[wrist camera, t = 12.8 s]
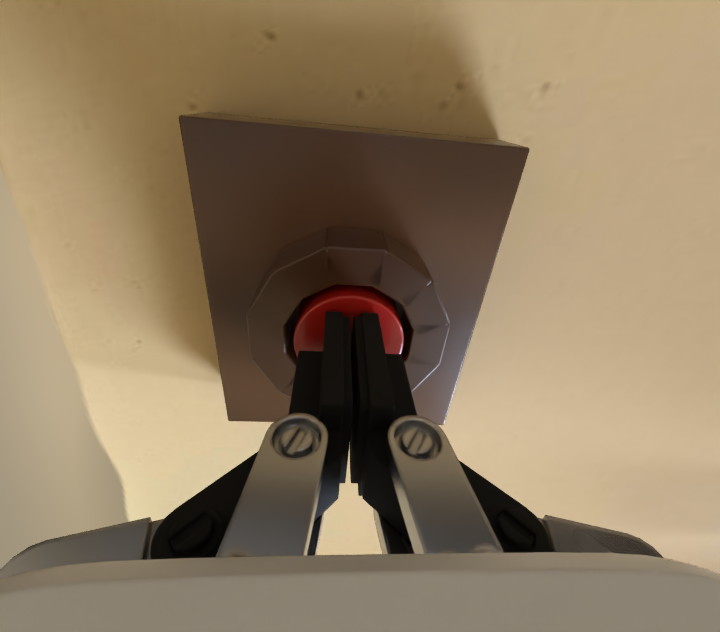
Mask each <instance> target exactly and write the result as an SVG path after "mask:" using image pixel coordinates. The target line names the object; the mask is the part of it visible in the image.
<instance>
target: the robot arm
mask: <svg viewBox="0 0 720 632" xmlns="http://www.w3.org/2000/svg"><path fill="white" fill-rule="evenodd" d="M349 441H350V473H351V483H358V493H359V496H363V499H364V500H365V501H366V502H367V503H368V504H369V505H370V506H372V507H373V508H374V509H373V512H374V520H375V524H376V529H377V533H378V537H379V542H380V546H381V550H382V554H373V555H317V551H318V545H319V540H320V535H321V529H322V524H323V518H324V512H325V511H326V510H327V509H328V508H329V507H330V506H331V505H332V504H333V503H334V502H335V501H336V500H337V499H338V494H339V483H345V479H346V470H347V460H348V451H349ZM0 632H720V574H718V573H716V572H713V571H710V570H708V569H705V568H702V567H698V566H695V565H692V564H688V563H684V562H680V561H676V560H672V559H666V558H663V557H662V556H661V555H660V554H659V553H658V552H657V551H656V550H655V549H654V548H653V547H652V546H651V545H649V544H648V543H646V542H645V541H643V540H642V539H640V538H638V537H635V536H632V535H630V534H627V533H622V532H618V531H614V530H609V529H605V528H601V527H596V526H592V525H587V524H583V523H579V522H574V521H570V520H566V519H561V518H557V517H552V516H548V515H545V516H544V518H543V519H541V518H537V517H536V516H535V515H534V514H533V513H532V512H531V511H529V510H528V509H527V508H526V507H524V506H523V505H522V504H520V503H519V502H517V501H516V500H515V499H513V498H512V497H510V496H509V495H507V494H506V493H505V492H503V491H502V490H500V489H499V488H497V487H496V486H495V485H493V484H492V483H490V482H489V481H487V480H486V479H485V478H483V477H482V476H480V475H479V474H477V473H476V472H475V471H473V470H472V469H470V468H469V467H468V466H466V465H465V464H463V463H462V462H460V461H459V460H458V459H457V457H456V455H455V453H454V451H453V449H452V447H451V445H450V443H449V440H448V438H447V436H446V435H445V433H444V432H443V430H442V429H441V428H440V427H439V426H438V425H437V424H436V423H435V422H433V421H431V420H429V419H427V418H425V417H421V416H417V412H416V408H415V404H414V400H413V396H412V392H411V388H410V384H409V380H408V376H407V372H406V368H405V364H404V360H403V357H402V355H401V354H386V353H385V347H384V342H383V337H382V331H381V326H380V320H379V315H378V313H361V314H360V317H354V322H353V333H352V344H351V347H350V326H349V317H348V316H343V312H337V311H326V312H325V328H324V344H323V351H299V352H298V358H297V364H296V371H295V377H294V383H293V389H292V396H291V402H290V408H289V414H288V415H285V416H283V417H281V418H279V419H277V420H276V421H275V422H274V423H273V424H271V426H270V427H269V429H268V430H267V432H266V434H265V437H264V439H263V442H262V444H261V447H260V449H259V451H258V452H257V453H255V454H254V455H252V456H251V457H250V458H248V459H247V460H245V461H244V462H242V463H241V464H240V465H238V466H237V467H235V468H234V469H232V470H231V471H229V472H228V473H227V474H225V475H224V476H222V477H221V478H219V479H218V480H217V481H215V482H214V483H212V484H211V485H209V486H208V487H206V488H205V489H204V490H202V491H201V492H199V493H198V494H196V495H195V496H193V497H192V498H191V499H189V500H188V501H186V502H185V503H183V504H182V505H181V506H179V507H178V508H176V509H175V510H174V511H173V512H171V513H170V514H169V515H168V516H167V517H166V518H165V519H161V520H157V521H153V522H152V521H151V518H150V517H149V518H144V519H140V520H135V521H131V522H126V523H122V524H118V525H113V526H109V527H104V528H99V529H95V530H90V531H86V532H81V533H77V534H72V535H68V536H63V537H59V538H54V539H50V540H46V541H43V542H40V543H38V544H35V545H32V546H30V547H28V548H27V549H25V550H24V551H22V552H20V553H19V554H17V555H16V556H14V557H13V558H12V559H11V560H10V561H9V562H8V563H7V564H6V565H4V567H2V568H1V569H0Z"/></svg>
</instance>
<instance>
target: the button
mask: <svg viewBox="0 0 720 632" xmlns="http://www.w3.org/2000/svg"><path fill="white" fill-rule="evenodd" d="M326 311H337V312H343V316H348V317H349V326H350V347H351V344H352V333H353V322H354V317H360V314H361V313H378V315H379V320H380V326H381V331H382V337H383V342H384V347H385V353H386V354H401V352H402V349H403V344H404V333H403V329H402V325H401V321H400V318H399V314H398V310H397V307H396V303H395V301H394V299H392V298H390V297H389V296H387V295H385V294H384V293H382V292H381V291H379V290H377V289H376V288H374V287H372V286H356V285H337V284H335V285H333V286H331V287H328V288H326V289H324V290H322V291H320V292H317V293H315V294H313V295H311V296H308V297H306V298H304V299H303V300H302V301H301V303H300V306H299V310H298V316H297V321H296V326H295V331H294V339H293V343H294V349H295V353H296V355H297V357H298V352H299V351H323V344H324V328H325V312H326Z"/></svg>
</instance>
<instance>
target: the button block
mask: <svg viewBox="0 0 720 632" xmlns="http://www.w3.org/2000/svg"><path fill="white" fill-rule="evenodd" d="M179 122H180V128H181V134H182V140H183V146H184V152H185V159H186V165H187V171H188V177H189V183H190V189H191V195H192V201H193V207H194V213H195V220H196V226H197V232H198V238H199V244H200V250H201V256H202V262H203V268H204V275H205V281H206V287H207V293H208V299H209V305H210V311H211V317H212V323H213V329H214V336H215V342H216V348H217V354H218V360H219V366H220V372H221V378H222V384H223V390H224V397H225V403H226V409H227V415H228V420H229V421H257V422H275V421H276V420H277V419H279V418H281V417H283V416H285V415H288V414H289V408H290V402H291V396H292V389H293V383H294V377H295V371H296V364H297V358H298V357H297V355H296V353H295V349H294V343H293V339H294V331H295V326H296V321H297V316H298V310H299V306H300V303H301V301H302V300H303V299H304V298H306V297H308V296H311V295H313V294H315V293H317V292H320V291H322V290H324V289H326V288H328V287H331V286H333V285H335V284H337V285H356V286H372V287H374V288H376V289H377V290H379V291H381V292H382V293H384V294H385V295H387V296H389V297H390V298H392V299H394V301H395V303H396V307H397V310H398V314H399V318H400V321H401V325H402V329H403V333H404V344H403V349H402V352H401V355H402V357H403V360H404V364H405V368H406V372H407V376H408V380H409V384H410V388H411V392H412V396H413V400H414V404H415V408H416V412H417V416H421V417H425V418H427V419H429V420H431V421H433V422H435V423H436V424H437V425H444V423H445V420H446V417H447V413H448V410H449V407H450V404H451V400H452V397H453V394H454V391H455V388H456V384H457V381H458V378H459V375H460V372H461V368H462V365H463V362H464V359H465V355H466V352H467V349H468V346H469V343H470V339H471V336H472V333H473V330H474V327H475V323H476V320H477V317H478V314H479V310H480V307H481V304H482V301H483V298H484V294H485V291H486V288H487V285H488V282H489V278H490V275H491V272H492V269H493V265H494V262H495V259H496V256H497V253H498V249H499V246H500V243H501V240H502V237H503V233H504V230H505V227H506V224H507V220H508V217H509V214H510V211H511V208H512V204H513V201H514V198H515V195H516V192H517V188H518V185H519V182H520V179H521V175H522V172H523V169H524V166H525V163H526V159H527V156H528V153H529V148H528V147H524V146H520V145H517V144H513V143H509V142H505V141H501V140H492V139H482V138H471V137H461V136H450V135H439V134H429V133H418V132H408V131H397V130H386V129H376V128H365V127H354V126H344V125H333V124H323V123H312V122H301V121H291V120H280V119H270V118H259V117H248V116H238V115H227V114H216V113H197V114H187V115H180V116H179Z"/></svg>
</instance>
